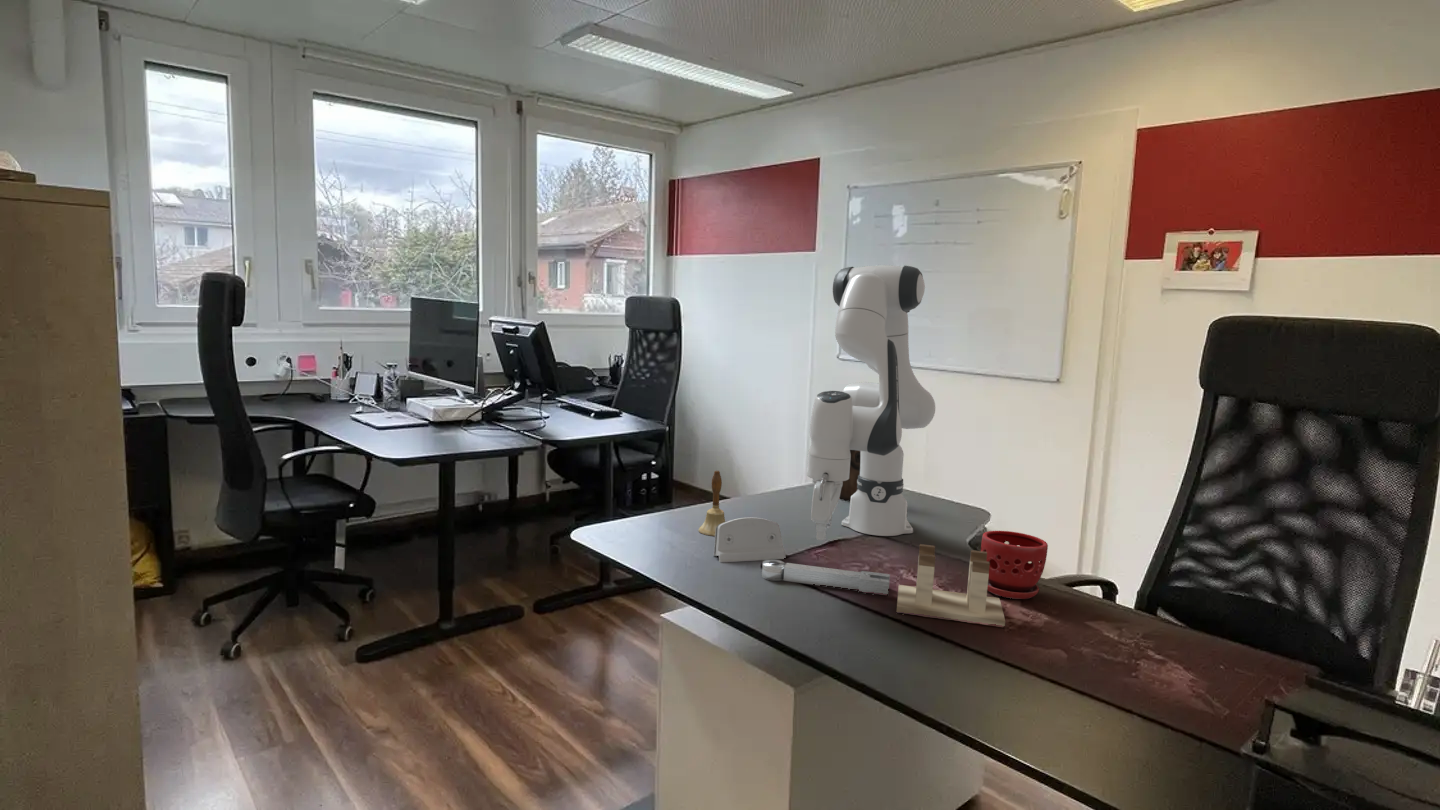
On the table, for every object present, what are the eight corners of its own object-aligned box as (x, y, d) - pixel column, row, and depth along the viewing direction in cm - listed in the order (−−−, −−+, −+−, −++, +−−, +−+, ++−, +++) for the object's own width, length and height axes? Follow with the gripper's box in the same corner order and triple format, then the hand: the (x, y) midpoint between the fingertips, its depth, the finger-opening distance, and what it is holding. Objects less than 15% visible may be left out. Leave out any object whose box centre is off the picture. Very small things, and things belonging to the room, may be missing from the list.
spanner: (759, 579, 166) (760, 565, 166) (764, 571, 171) (765, 558, 171) (887, 596, 160) (888, 581, 159) (888, 587, 164) (889, 573, 164)
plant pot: (1049, 606, 158) (1055, 550, 156) (982, 599, 160) (987, 543, 159) (1035, 584, 171) (1040, 531, 169) (973, 577, 173) (978, 525, 171)
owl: (873, 503, 234) (878, 438, 231) (832, 502, 233) (837, 437, 230) (862, 493, 246) (867, 431, 243) (823, 492, 245) (827, 430, 242)
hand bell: (734, 535, 196) (737, 474, 194) (702, 536, 194) (705, 474, 192) (726, 526, 204) (728, 466, 202) (695, 527, 202) (697, 467, 200)
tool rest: (898, 591, 162) (902, 538, 161) (998, 605, 158) (1003, 550, 156) (896, 613, 151) (900, 556, 149) (1004, 628, 146) (1010, 570, 144)
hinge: (718, 562, 176) (716, 518, 178) (712, 562, 180) (710, 519, 182) (787, 558, 180) (784, 515, 182) (780, 558, 185) (777, 516, 187)
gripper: (838, 480, 151) (833, 549, 153) (848, 462, 171) (843, 523, 172) (806, 477, 153) (801, 545, 154) (819, 459, 172) (815, 519, 174)
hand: (823, 533), depth 164 cm, fingers open, 8 cm apart
